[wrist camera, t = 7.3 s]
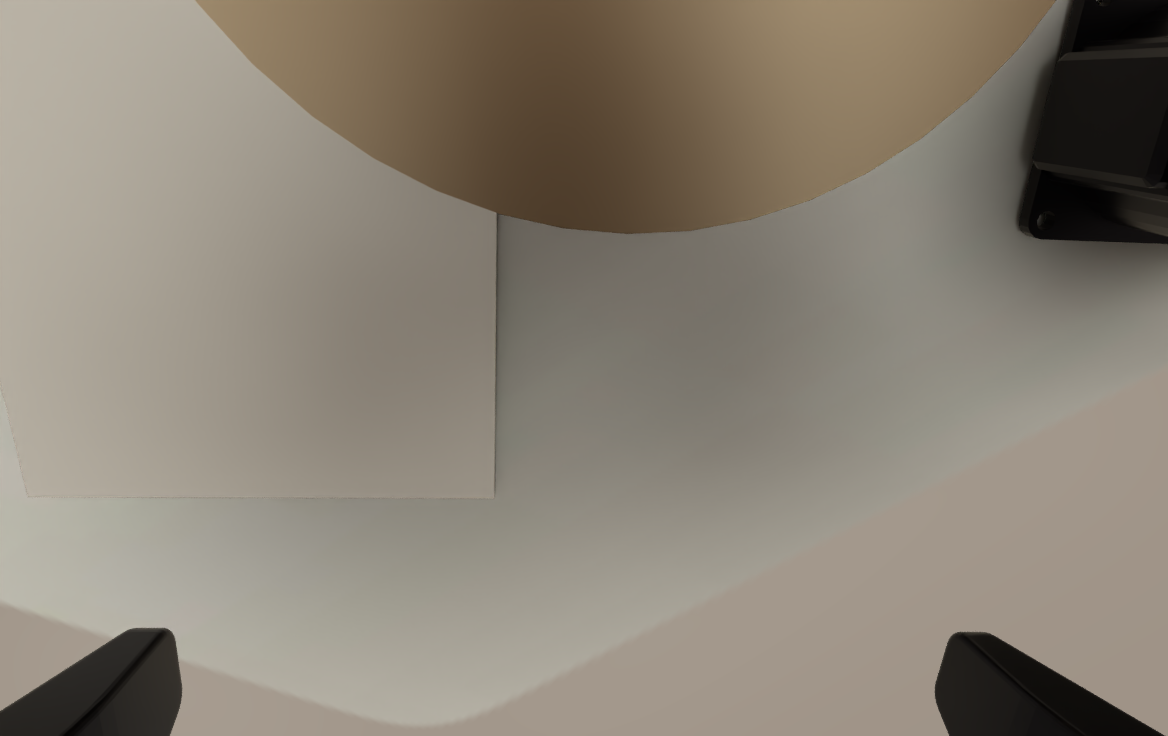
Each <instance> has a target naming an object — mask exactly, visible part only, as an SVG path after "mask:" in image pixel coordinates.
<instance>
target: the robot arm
mask: <svg viewBox="0 0 1168 736" xmlns="http://www.w3.org/2000/svg"><path fill="white" fill-rule="evenodd" d="M1033 161H1034V162H1033V166H1032V170H1031V174H1030V178H1029V182H1028V186H1027V190H1026V194H1025V198H1024V202H1023V206H1022V210H1021V214H1020V218H1019V226H1020V228H1021V231H1022V232H1023V233H1024V234H1026V235H1028V236H1031V237H1035V238H1038V239H1049V240H1077V241H1105V242H1133V243H1161V244H1168V0H1102V2H1101V3H1100V4H1099V5H1098V4H1097V2H1096V0H1074V3H1073V7H1072V11H1071V15H1070V19H1069V23H1068V27H1067V31H1066V35H1065V39H1064V43H1063V46H1062V50H1061V54H1060V58H1059V61H1058V62H1057V63H1056V66H1055V70H1054V74H1053V78H1052V82H1051V86H1050V90H1049V94H1048V98H1047V102H1046V106H1045V110H1044V114H1043V118H1042V122H1041V126H1040V130H1039V134H1038V138H1037V142H1036V146H1035V150H1034V154H1033ZM1043 212H1045V214H1046V219H1045V221H1044V223H1043V224H1042V225H1040V226H1039V227H1038V226H1037V220H1038V218H1039V216H1040V215H1041V214H1042V213H1043ZM181 698H182V683H181V676H180V670H179V662H178V655H177V648H176V641H175V637H174V635H173V633H172V632H171V631H170V630H168V629H166V628H133V629H129V630H127V631H125V632H123V633H122V634H120V635H119V636H117V637H115V638H114V639H112V640H111V641H109V642H108V643H106V644H105V645H103V646H101V647H100V648H98V649H97V650H95V651H94V652H92V653H90V654H89V655H87V656H86V657H84V658H83V659H81V660H80V661H78V662H76V663H75V664H73V665H72V666H70V667H69V668H67V669H66V670H64V671H62V672H61V673H59V674H58V675H56V676H54V677H53V678H51V679H50V680H48V681H47V682H45V683H44V684H42V685H40V686H39V687H37V688H36V689H34V690H33V691H31V692H29V693H28V694H26V695H25V696H23V697H22V698H20V699H19V700H17V701H15V702H14V703H12V704H11V705H9V706H8V707H6V708H4V709H3V710H1V711H0V736H170V734H171V731H172V728H173V725H174V723H175V720H176V717H177V714H178V711H179V708H180V704H181ZM935 699H936V703H937V706H938V709H939V712H940V714H941V717H942V719H943V722H944V724H945V726H946V729H947V731H948V734H949V736H1164V735H1163V734H1161V733H1159V732H1158V731H1156V730H1154V729H1152V728H1151V727H1149V726H1147V725H1146V724H1144V723H1142V722H1141V721H1138V720H1137V719H1135V718H1134V717H1132V716H1130V715H1129V714H1127V713H1125V712H1123V711H1122V710H1120V709H1118V708H1117V707H1115V706H1113V705H1112V704H1109V703H1108V702H1106V701H1105V700H1103V699H1101V698H1100V697H1098V696H1096V695H1094V694H1093V693H1091V692H1089V691H1088V690H1086V689H1084V688H1083V687H1081V686H1079V685H1077V684H1076V683H1074V682H1072V681H1071V680H1069V679H1067V678H1065V677H1064V676H1062V675H1060V674H1059V673H1057V672H1055V671H1053V670H1052V669H1050V668H1048V667H1047V666H1045V665H1043V664H1042V663H1040V662H1038V661H1036V660H1035V659H1033V658H1031V657H1030V656H1028V655H1026V654H1025V653H1023V652H1021V651H1019V650H1018V649H1016V648H1014V647H1013V646H1011V645H1009V644H1007V643H1006V642H1004V641H1002V640H1001V639H999V638H997V637H996V636H994V635H991V634H990V633H986V632H957V633H955V634H953V635H952V636H951V637H950V639H949V641H948V643H947V646H946V650H945V653H944V656H943V660H942V663H941V666H940V670H939V673H938V677H937V680H936V684H935Z"/></svg>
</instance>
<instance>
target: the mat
mask: <svg viewBox="0 0 1168 736" xmlns="http://www.w3.org/2000/svg"><path fill="white" fill-rule="evenodd" d="M496 261H497V213H496V212H493V211H490V210H487V209H485V208H482V207H479V206H476V205H474V204H471V203H468V202H466V201H463V200H460V199H457V198H455V197H452V196H449V195H446V194H444V193H441V192H438V191H436V190H434V189H432V188H430V187H428V186H426V185H424V184H422V183H420V182H418V181H416V180H414V179H412V178H411V177H409V176H407V175H405V174H403V173H401V172H399V171H397V170H395V169H393V168H391V167H389V166H387V165H385V164H383V163H382V162H380V161H378V160H376V159H374V158H372V157H371V156H369V155H368V154H366V153H365V152H363V151H362V150H361V149H359V148H358V147H356V146H355V145H353V144H352V143H350V142H349V141H347V140H346V139H344V138H343V137H342V136H340V135H339V134H337V133H336V132H334V131H333V130H331V129H330V128H328V127H327V126H326V125H324V124H323V123H321V122H320V121H318V120H317V119H315V118H314V117H312V116H311V115H310V114H309V113H308V112H307V111H305V110H304V109H303V108H302V107H301V106H300V105H299V104H297V103H296V102H295V101H294V100H293V99H292V98H291V97H289V96H288V95H287V94H286V93H285V92H284V91H283V90H281V89H280V88H279V87H278V86H277V85H276V84H275V83H273V82H272V81H271V80H270V79H269V78H268V77H267V76H265V75H264V74H263V73H262V72H261V71H260V70H259V69H257V68H256V67H255V66H254V65H253V64H252V63H251V62H250V61H249V60H248V59H247V58H246V56H245V55H244V54H243V53H242V52H241V51H240V50H239V49H238V48H237V47H236V45H235V44H234V43H233V42H232V41H231V40H230V39H229V38H228V37H227V35H226V34H225V33H224V32H223V31H222V30H221V29H220V28H219V27H218V26H217V24H216V23H215V22H214V21H213V20H212V19H211V18H210V17H209V16H208V15H207V13H206V12H205V11H204V10H203V9H202V8H201V7H200V6H199V5H198V3H197V2H196V1H195V0H0V384H1V389H2V393H3V397H4V401H5V405H6V409H7V413H8V418H9V422H10V426H11V430H12V434H13V438H14V442H15V446H16V451H17V455H18V459H19V463H20V467H21V471H22V475H23V480H24V484H25V488H26V492H27V496H28V497H119V498H460V499H494V494H495V387H496Z"/></svg>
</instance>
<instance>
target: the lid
mask: <svg viewBox="0 0 1168 736" xmlns="http://www.w3.org/2000/svg"><path fill="white" fill-rule="evenodd" d="M195 1H196V2H197V3H198V5H199V6H200V7H201V8H202V9H203V10H204V11H205V12H206V13H207V15H208V16H209V17H210V18H211V19H212V20H213V21H214V22H215V23H216V24H217V26H218V27H219V28H220V29H221V30H222V31H223V32H224V33H225V34H226V35H227V37H228V38H229V39H230V40H231V41H232V42H233V43H234V44H235V45H236V47H237V48H238V49H239V50H240V51H241V52H242V53H243V54H244V55H245V56H246V58H247V59H248V60H249V61H250V62H251V63H252V64H253V65H254V66H255V67H256V68H257V69H259V70H260V71H261V72H262V73H263V74H264V75H265V76H267V77H268V78H269V79H270V80H271V81H272V82H273V83H275V84H276V85H277V86H278V87H279V88H280V89H281V90H283V91H284V92H285V93H286V94H287V95H288V96H289V97H291V98H292V99H293V100H294V101H295V102H296V103H297V104H299V105H300V106H301V107H302V108H303V109H304V110H305V111H307V112H308V113H309V114H310V115H311V116H312V117H314V118H315V119H317V120H318V121H320V122H321V123H323V124H324V125H326V126H327V127H328V128H330V129H331V130H333V131H334V132H336V133H337V134H339V135H340V136H342V137H343V138H344V139H346V140H347V141H349V142H350V143H352V144H353V145H355V146H356V147H358V148H359V149H361V150H362V151H363V152H365V153H366V154H368V155H369V156H371V157H372V158H374V159H376V160H378V161H380V162H382V163H383V164H385V165H387V166H389V167H391V168H393V169H395V170H397V171H399V172H401V173H403V174H405V175H407V176H409V177H411V178H412V179H414V180H416V181H418V182H420V183H422V184H424V185H426V186H428V187H430V188H432V189H434V190H436V191H438V192H441V193H444V194H446V195H449V196H452V197H455V198H457V199H460V200H463V201H466V202H468V203H471V204H474V205H476V206H479V207H482V208H485V209H487V210H490V211H493V212H496V213H498V214H502V215H506V216H511V217H515V218H520V219H524V220H529V221H533V222H538V223H542V224H547V225H551V226H556V227H560V228H566V229H577V230H589V231H601V232H612V233H624V234H633V233H654V232H675V231H691V230H697V229H702V228H708V227H713V226H718V225H724V224H729V223H735V222H740V221H746V220H751V219H754V218H757V217H760V216H763V215H766V214H769V213H772V212H775V211H779V210H782V209H785V208H788V207H791V206H794V205H797V204H800V203H803V202H806V201H809V200H812V199H814V198H816V197H818V196H820V195H822V194H824V193H826V192H828V191H831V190H833V189H835V188H837V187H839V186H841V185H843V184H845V183H847V182H850V181H852V180H854V179H856V178H858V177H860V176H862V175H864V174H866V173H868V172H870V171H871V170H873V169H874V168H876V167H877V166H879V165H881V164H882V163H884V162H885V161H887V160H888V159H890V158H892V157H893V156H895V155H896V154H898V153H899V152H901V151H903V150H904V149H906V148H907V147H909V146H910V145H912V144H914V143H915V142H917V141H918V140H920V139H921V138H922V137H924V136H925V135H926V134H927V133H929V132H930V131H931V130H932V129H933V128H935V127H936V126H937V125H938V124H940V123H941V122H942V121H943V120H944V119H946V118H947V117H948V116H949V115H950V114H952V113H953V112H954V111H955V110H957V109H958V108H959V107H960V106H961V105H963V104H964V103H965V102H966V101H968V100H969V99H970V98H971V97H972V96H973V95H974V94H975V93H976V92H977V91H978V90H979V89H980V88H981V87H982V86H983V85H984V84H985V83H986V82H987V81H988V80H989V79H990V78H991V77H992V76H993V75H994V74H995V73H996V72H997V70H998V69H999V68H1000V67H1001V66H1002V65H1003V64H1004V63H1005V62H1006V61H1007V60H1008V59H1009V58H1010V57H1011V56H1012V55H1013V54H1014V53H1015V52H1016V51H1017V50H1018V49H1019V48H1020V47H1021V45H1022V44H1023V43H1024V41H1025V40H1026V39H1027V37H1028V36H1029V35H1030V34H1031V32H1032V31H1033V30H1034V28H1035V27H1036V26H1037V25H1038V23H1039V22H1040V21H1041V19H1042V18H1043V17H1044V15H1045V14H1046V13H1047V12H1048V10H1049V9H1050V8H1051V6H1052V5H1053V4H1054V3H1055V1H1056V0H195Z"/></svg>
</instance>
